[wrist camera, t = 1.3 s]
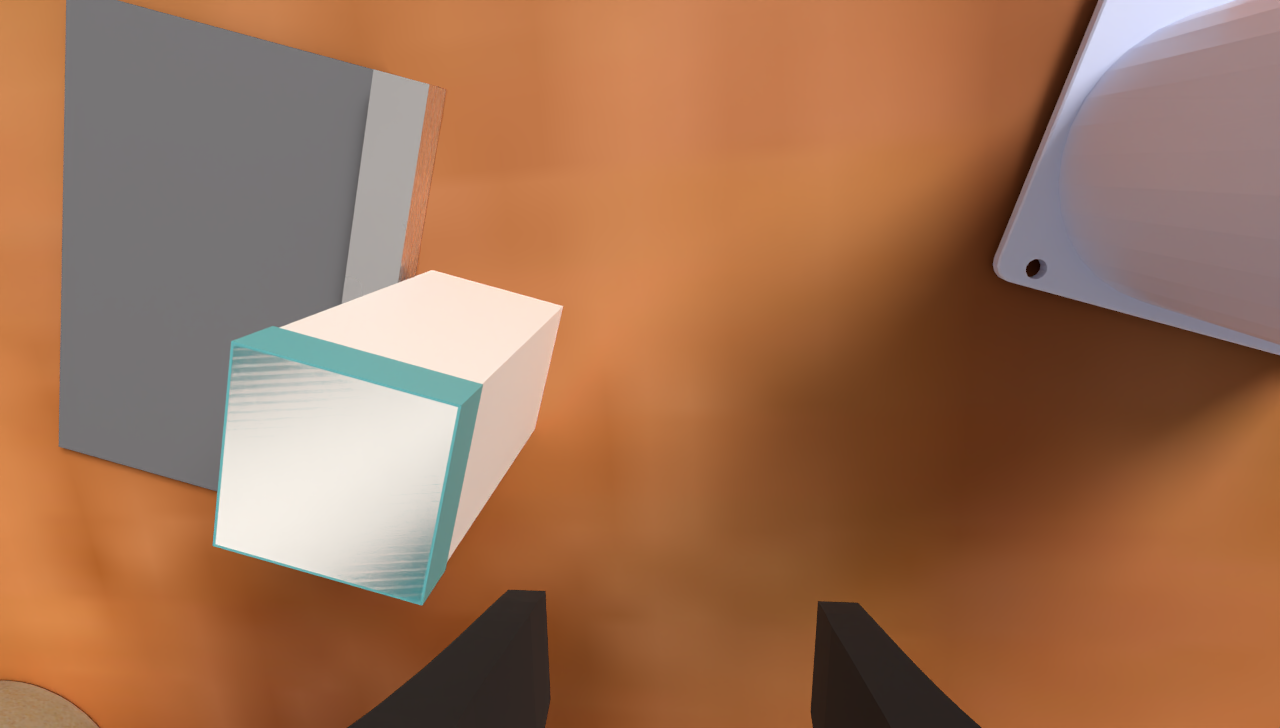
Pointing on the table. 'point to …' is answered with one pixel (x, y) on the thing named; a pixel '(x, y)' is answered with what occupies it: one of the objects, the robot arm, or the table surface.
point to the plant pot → (38, 708)
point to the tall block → (379, 429)
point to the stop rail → (392, 183)
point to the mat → (191, 221)
